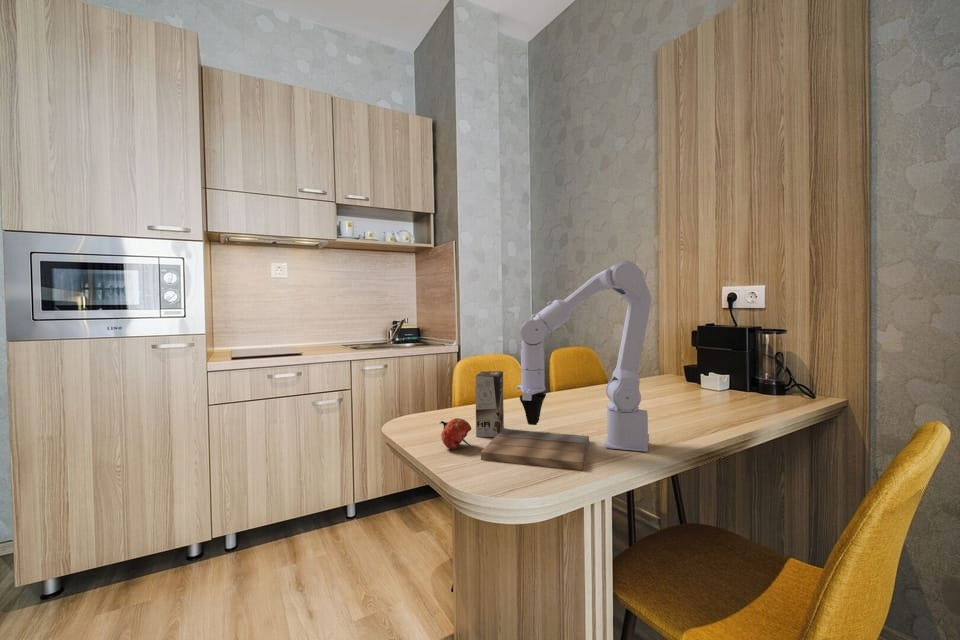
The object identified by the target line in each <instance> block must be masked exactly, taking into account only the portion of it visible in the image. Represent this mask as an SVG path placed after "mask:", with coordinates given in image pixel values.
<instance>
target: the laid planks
mask: <svg viewBox="0 0 960 640" xmlns="http://www.w3.org/2000/svg"><path fill="white" fill-rule="evenodd" d="M587 451H588V448H587V444H580V443H569V442H557V441H546V440H535V439H524V438H512V437H501V436H496V437H495V438H494V437H493V438H492V440H491V441H489V443H488V444H487V445H486V446H485V447H484V448H483V449H482V450H481V451H480V460H484V461H493V462H499V463H500V462H502V463H511V464H517V465H518V464H520V465H530V466H539V467H546V468H547V467H548V468H555V469H556V468H557V469H564V470H565V469H566V470H574V471H583V468H584V467H583V466H584V463H585V460H586V456H587Z"/></svg>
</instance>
